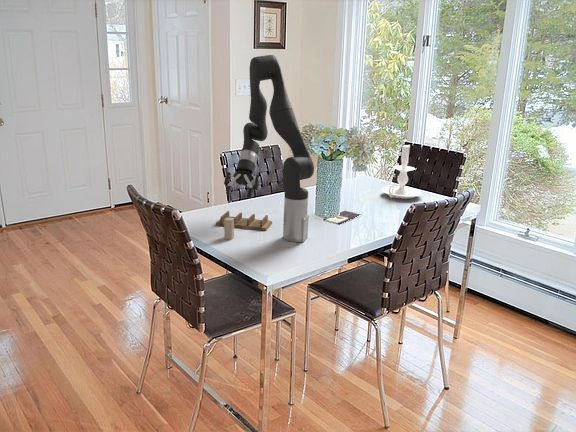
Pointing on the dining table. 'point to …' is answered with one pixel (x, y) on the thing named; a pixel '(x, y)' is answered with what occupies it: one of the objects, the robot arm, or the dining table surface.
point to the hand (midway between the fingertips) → (238, 196)
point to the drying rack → (246, 222)
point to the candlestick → (402, 179)
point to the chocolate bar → (342, 217)
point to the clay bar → (229, 228)
